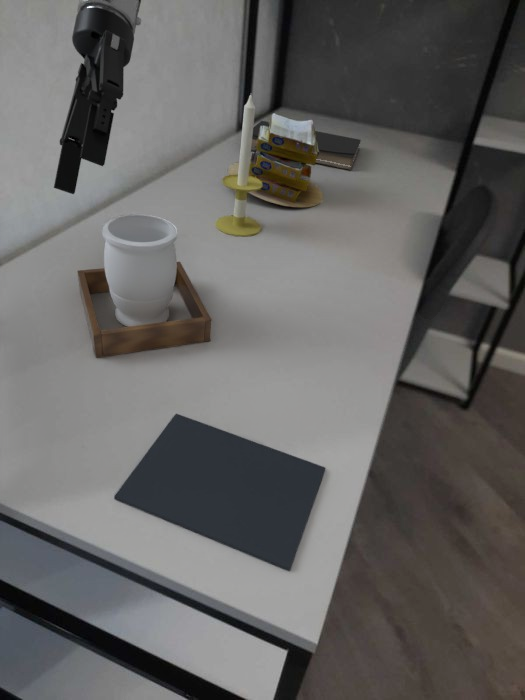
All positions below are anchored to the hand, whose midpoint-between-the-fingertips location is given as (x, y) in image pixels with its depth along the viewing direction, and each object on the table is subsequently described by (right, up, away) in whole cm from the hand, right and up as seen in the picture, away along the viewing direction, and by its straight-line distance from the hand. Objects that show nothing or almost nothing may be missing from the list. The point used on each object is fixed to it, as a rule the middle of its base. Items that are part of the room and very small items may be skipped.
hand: (76, 177), depth 67 cm
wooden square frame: (+5, -17, +16) cm, 24 cm away
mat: (+20, -38, -8) cm, 43 cm away
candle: (+19, +5, +46) cm, 50 cm away
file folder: (+37, +41, +96) cm, 111 cm away
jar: (+5, -17, +16) cm, 24 cm away
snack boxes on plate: (+27, +18, +66) cm, 74 cm away
